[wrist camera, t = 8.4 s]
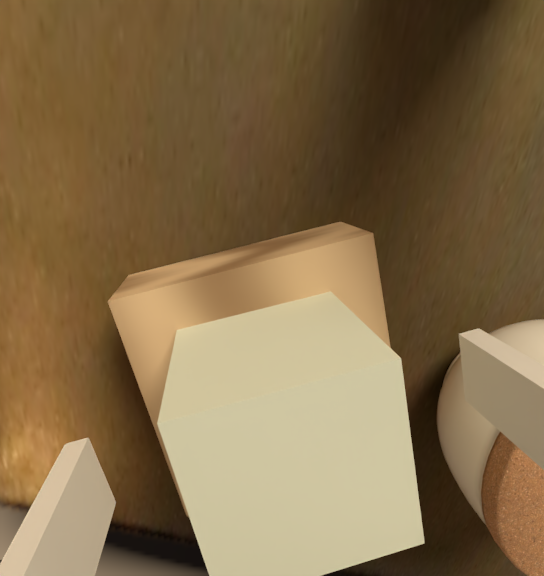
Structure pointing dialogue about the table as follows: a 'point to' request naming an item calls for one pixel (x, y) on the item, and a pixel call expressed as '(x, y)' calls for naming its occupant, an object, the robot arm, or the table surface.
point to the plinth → (242, 295)
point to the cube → (291, 441)
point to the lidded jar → (496, 460)
